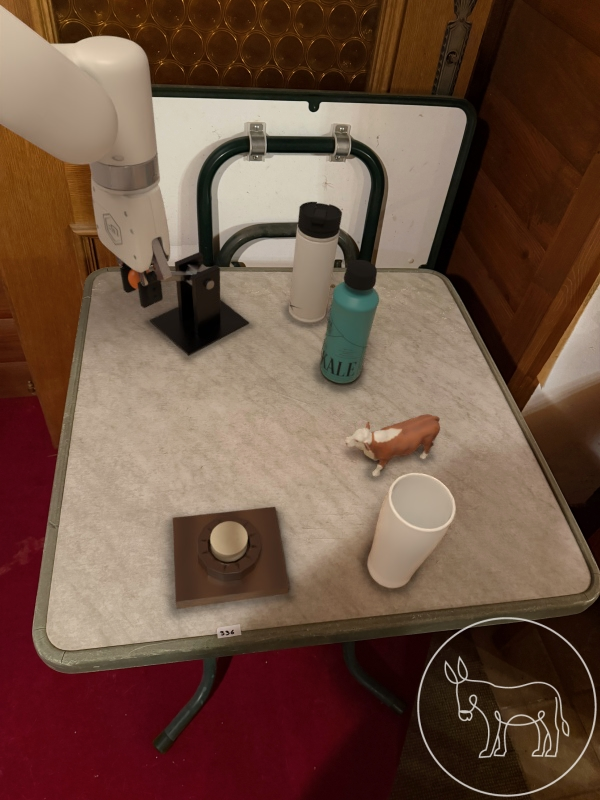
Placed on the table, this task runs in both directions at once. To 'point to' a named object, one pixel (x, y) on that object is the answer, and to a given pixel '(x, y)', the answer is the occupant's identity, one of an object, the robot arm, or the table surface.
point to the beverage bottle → (350, 323)
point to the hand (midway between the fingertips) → (143, 294)
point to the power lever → (176, 276)
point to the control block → (228, 581)
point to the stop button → (229, 541)
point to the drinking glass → (409, 527)
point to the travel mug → (313, 261)
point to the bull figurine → (396, 439)
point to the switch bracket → (198, 310)
